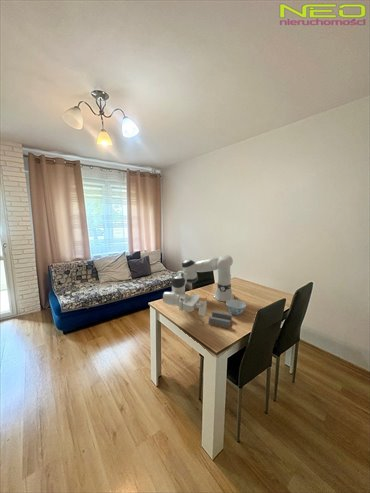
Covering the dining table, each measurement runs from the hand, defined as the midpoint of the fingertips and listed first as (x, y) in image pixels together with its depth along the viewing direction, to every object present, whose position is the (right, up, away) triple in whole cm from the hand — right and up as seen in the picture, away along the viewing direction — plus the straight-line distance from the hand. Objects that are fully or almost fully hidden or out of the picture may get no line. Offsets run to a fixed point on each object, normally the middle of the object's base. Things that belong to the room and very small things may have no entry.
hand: (204, 304), depth 131 cm
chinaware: (+27, -14, +24) cm, 38 cm away
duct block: (+13, -16, +10) cm, 22 cm away
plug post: (-1, -7, +1) cm, 7 cm away
